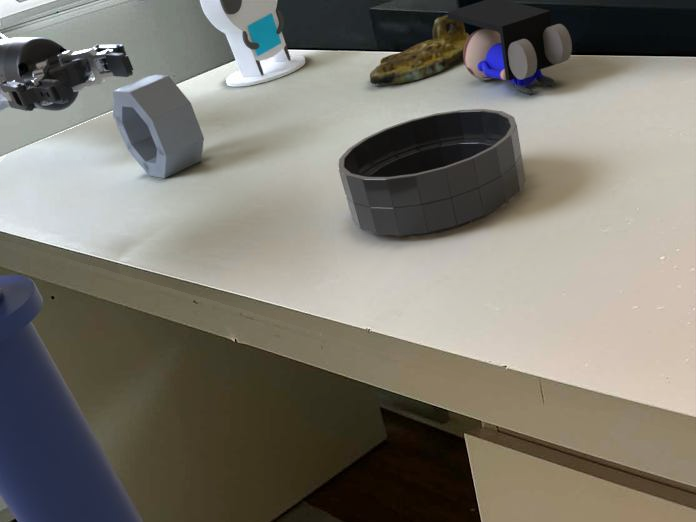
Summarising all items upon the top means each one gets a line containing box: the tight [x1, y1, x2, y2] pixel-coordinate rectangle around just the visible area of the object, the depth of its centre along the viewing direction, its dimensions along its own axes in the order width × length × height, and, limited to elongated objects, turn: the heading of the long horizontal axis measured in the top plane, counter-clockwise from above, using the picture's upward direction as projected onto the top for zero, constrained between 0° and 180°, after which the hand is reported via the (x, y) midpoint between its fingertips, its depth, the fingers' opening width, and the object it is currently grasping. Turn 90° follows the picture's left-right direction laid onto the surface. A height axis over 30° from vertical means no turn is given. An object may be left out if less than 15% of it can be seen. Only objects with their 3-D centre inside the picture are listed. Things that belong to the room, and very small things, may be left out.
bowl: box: [337, 108, 526, 238], centre depth 79 cm, size 15×15×5 cm
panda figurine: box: [199, 0, 306, 88], centre depth 125 cm, size 12×11×15 cm
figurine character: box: [446, 0, 573, 96], centre depth 100 cm, size 7×8×15 cm
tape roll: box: [112, 74, 205, 179], centre depth 102 cm, size 9×5×9 cm, turn 46°
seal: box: [369, 14, 470, 85], centre depth 114 cm, size 9×5×15 cm
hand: (95, 78), depth 106 cm, fingers open, 8 cm apart
